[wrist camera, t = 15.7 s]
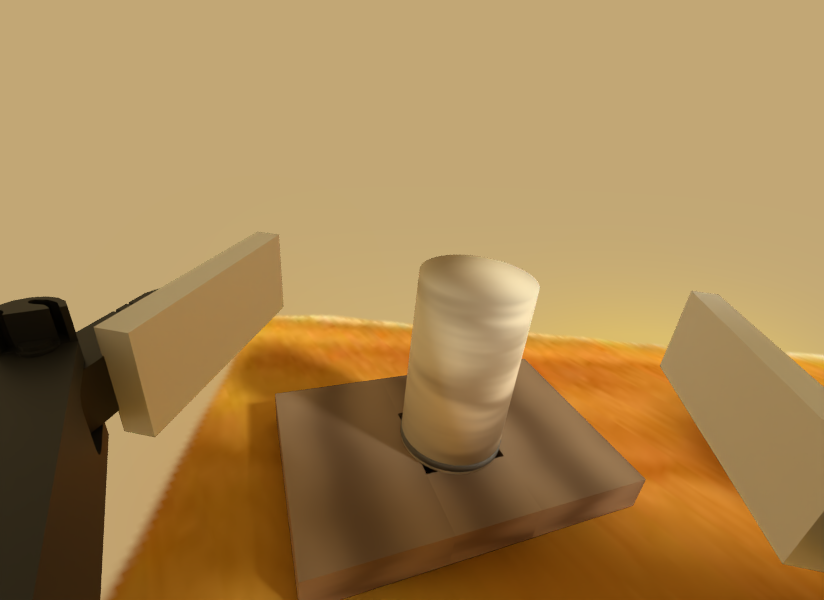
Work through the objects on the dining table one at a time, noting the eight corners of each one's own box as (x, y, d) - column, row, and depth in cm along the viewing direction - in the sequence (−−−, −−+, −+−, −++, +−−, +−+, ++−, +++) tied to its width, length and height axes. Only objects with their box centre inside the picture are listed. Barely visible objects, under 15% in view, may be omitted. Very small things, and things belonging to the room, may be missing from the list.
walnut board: (518, 380, 40) (524, 358, 39) (633, 505, 29) (645, 479, 27) (276, 419, 32) (275, 393, 31) (299, 612, 21) (298, 582, 20)
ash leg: (465, 417, 34) (499, 252, 28) (511, 486, 29) (566, 299, 22) (385, 433, 32) (402, 256, 26) (417, 511, 26) (449, 309, 20)
